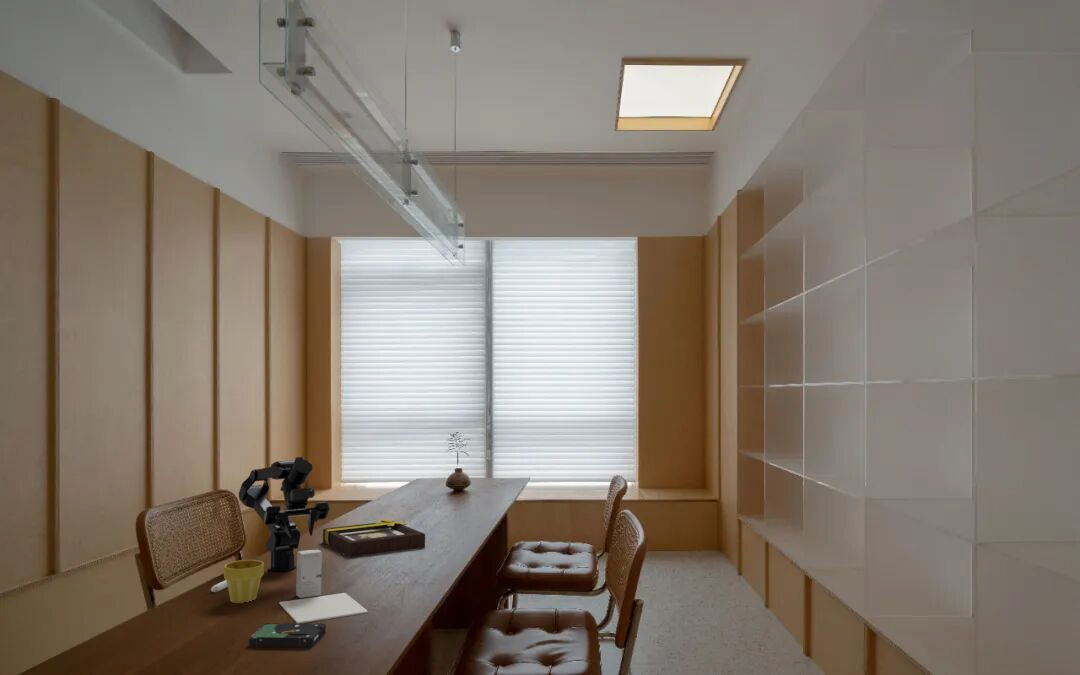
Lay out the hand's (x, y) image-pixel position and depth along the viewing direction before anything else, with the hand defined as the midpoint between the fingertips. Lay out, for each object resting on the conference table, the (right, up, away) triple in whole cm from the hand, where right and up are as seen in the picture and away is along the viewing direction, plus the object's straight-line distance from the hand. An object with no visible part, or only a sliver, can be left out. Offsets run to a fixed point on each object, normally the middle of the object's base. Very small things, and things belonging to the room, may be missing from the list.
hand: (301, 536), depth 232 cm
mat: (+14, -12, -27) cm, 33 cm away
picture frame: (+11, -17, +51) cm, 55 cm away
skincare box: (+7, -13, -15) cm, 21 cm away
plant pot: (-10, -13, -20) cm, 25 cm away
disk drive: (+13, -12, -52) cm, 55 cm away
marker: (-20, -14, -4) cm, 25 cm away
